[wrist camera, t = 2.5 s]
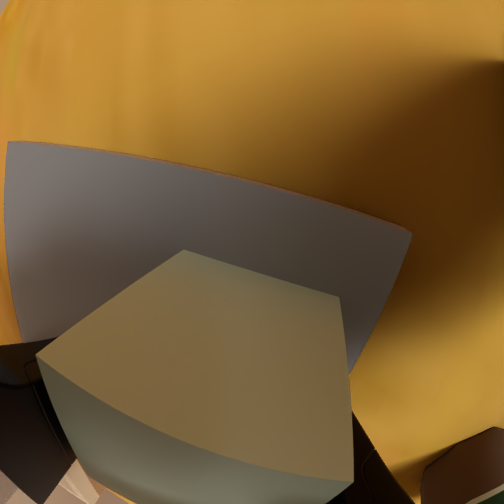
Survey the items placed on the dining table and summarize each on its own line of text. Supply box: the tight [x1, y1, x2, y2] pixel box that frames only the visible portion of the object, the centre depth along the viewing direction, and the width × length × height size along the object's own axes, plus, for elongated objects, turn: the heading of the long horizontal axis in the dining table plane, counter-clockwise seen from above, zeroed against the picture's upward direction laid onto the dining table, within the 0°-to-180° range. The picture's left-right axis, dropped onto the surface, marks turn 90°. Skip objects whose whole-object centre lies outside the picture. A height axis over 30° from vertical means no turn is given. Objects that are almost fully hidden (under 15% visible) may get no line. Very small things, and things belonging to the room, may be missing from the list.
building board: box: [4, 141, 413, 504], centre depth 10 cm, size 18×22×6 cm
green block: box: [36, 250, 354, 504], centre depth 7 cm, size 5×5×6 cm
